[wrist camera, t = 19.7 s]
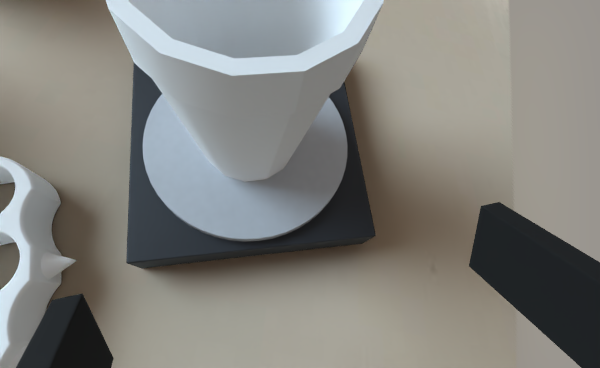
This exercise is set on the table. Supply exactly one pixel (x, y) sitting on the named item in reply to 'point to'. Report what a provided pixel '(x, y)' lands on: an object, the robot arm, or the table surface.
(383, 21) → the table surface
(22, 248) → the white brass knuckles
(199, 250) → the kitchen scale
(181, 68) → the foam cup
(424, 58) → the table surface
